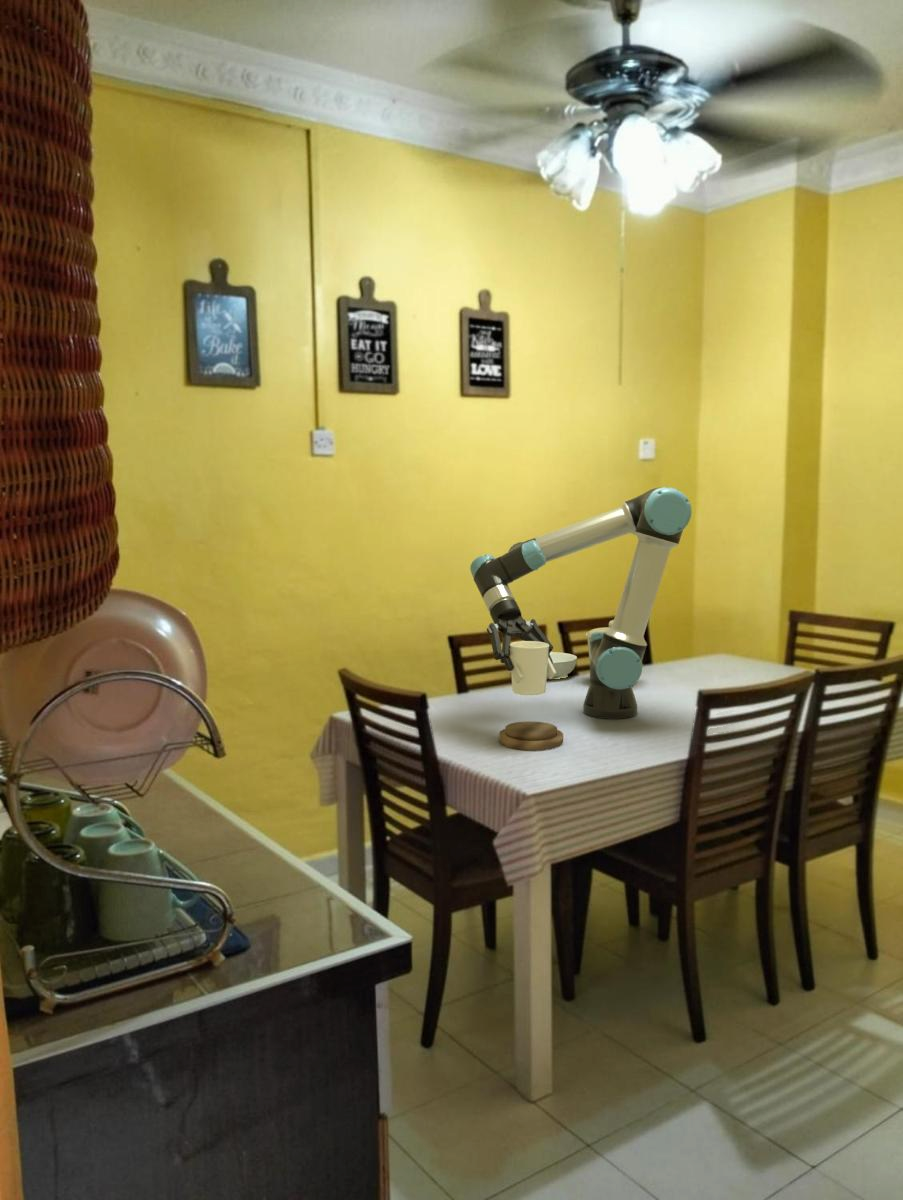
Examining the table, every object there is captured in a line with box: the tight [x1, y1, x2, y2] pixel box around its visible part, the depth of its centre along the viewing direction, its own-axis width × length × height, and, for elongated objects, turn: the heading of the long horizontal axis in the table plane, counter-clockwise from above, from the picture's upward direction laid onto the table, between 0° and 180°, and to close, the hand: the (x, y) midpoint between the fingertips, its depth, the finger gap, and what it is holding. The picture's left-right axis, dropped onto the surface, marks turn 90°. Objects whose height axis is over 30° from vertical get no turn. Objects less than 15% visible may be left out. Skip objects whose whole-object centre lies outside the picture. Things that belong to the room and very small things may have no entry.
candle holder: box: [509, 640, 549, 696], centre depth 230 cm, size 10×10×12 cm
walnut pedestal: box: [498, 720, 564, 752], centre depth 232 cm, size 16×16×4 cm
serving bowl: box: [547, 651, 578, 680], centre depth 310 cm, size 21×21×7 cm
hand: (536, 678), depth 228 cm, fingers closed on candle holder, 9 cm apart
